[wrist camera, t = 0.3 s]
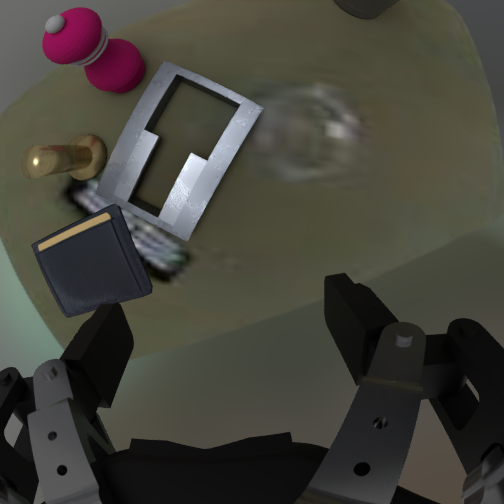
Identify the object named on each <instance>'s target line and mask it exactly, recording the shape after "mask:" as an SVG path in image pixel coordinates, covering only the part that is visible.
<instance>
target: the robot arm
mask: <svg viewBox="0 0 504 504" xmlns="http://www.w3.org/2000/svg"><path fill="white" fill-rule="evenodd" d="M334 1H335V2H336V3H337V4H338V5H339V6H340V7H341V8H342V9H344V10H345V11H346V12H348V13H350V14H351V15H354V16H356V17H359V18H364V19H372V18H375V17H377V16H378V15H380V14H381V13H382V12H384V11H385V10H387V9H388V8H389V7H391V6H392V5H394V4H395V3H396V2H398V1H399V0H334ZM324 302H325V303H324V304H325V305H324V314H325V320H326V324H327V327H328V329H329V331H330V333H331V335H332V337H333V339H334V341H335V343H336V345H337V347H338V349H339V351H340V353H341V355H342V357H343V359H344V361H345V363H346V365H347V367H348V369H349V371H350V373H351V375H352V377H353V380H354V382H355V384H356V386H358V385H359V388H358V390H357V393H356V395H355V397H354V400H353V402H352V404H351V406H350V408H349V411H348V413H347V415H346V417H345V419H344V421H343V423H342V425H341V427H340V430H339V431H338V433H337V435H336V437H335V439H334V441H333V443H332V445H331V447H330V449H328V448H325V447H322V446H318V445H314V444H308V443H298V442H292V438H291V433H290V432H286V433H280V434H274V435H266V436H259V437H250V438H246V439H243V440H239V441H236V442H232V443H229V444H225V445H222V446H218V447H214V448H210V449H201V448H196V447H191V446H187V445H182V444H178V443H174V442H170V441H164V440H163V441H162V440H145V439H131V443H130V448H129V449H126V450H122V451H118V452H117V451H116V450H115V448H114V446H113V444H112V442H111V440H110V438H109V436H108V433H107V431H106V429H105V427H104V425H103V423H102V421H101V418H100V416H99V414H98V413H97V412H96V411H97V408H98V407H103V408H111V405H112V402H113V399H114V397H115V394H116V391H117V388H118V386H119V383H120V380H121V378H122V375H123V373H124V370H125V368H126V365H127V363H128V360H129V358H130V355H131V353H132V350H133V347H134V339H133V335H132V332H131V330H130V327H129V325H128V322H127V320H126V317H125V314H124V312H123V309H122V307H121V305H120V304H119V303H105V304H101V305H100V306H99V307H98V308H97V310H96V311H95V313H94V314H93V315H92V317H91V318H89V319H88V320H87V321H86V322H84V323H83V325H82V326H81V327H80V329H79V330H78V333H76V335H75V336H74V339H72V341H71V342H70V344H69V345H68V347H67V348H66V350H65V351H64V353H63V354H62V356H61V357H60V359H52V360H48V361H46V362H44V363H42V364H41V365H40V366H39V367H38V368H37V369H36V371H35V372H34V375H33V377H27V378H22V376H21V375H20V373H19V372H18V370H17V369H16V368H14V367H9V368H6V369H4V370H2V371H1V372H0V504H33V503H34V499H35V494H36V491H37V487H38V483H39V482H40V485H41V489H42V492H43V495H44V499H45V501H44V502H43V503H41V504H440V503H437V502H435V501H432V500H430V499H427V498H425V497H423V496H420V495H418V494H415V493H413V492H411V491H409V490H407V489H405V488H403V487H400V486H398V485H397V484H398V482H399V479H400V476H401V473H402V470H403V467H404V464H405V461H406V458H407V454H408V451H409V448H410V444H411V441H412V437H413V433H414V429H415V425H416V421H417V417H418V412H419V407H420V402H421V400H422V399H429V401H430V403H431V405H432V406H433V408H434V410H435V412H436V414H437V415H438V417H439V419H440V421H441V423H442V425H443V427H444V429H445V431H446V432H447V434H448V436H449V438H450V440H451V442H452V444H453V446H454V448H455V450H456V452H457V454H458V457H459V459H460V461H461V463H462V465H463V467H464V469H465V471H466V474H467V477H466V478H465V481H464V483H463V488H462V492H463V493H462V496H461V499H462V501H463V503H464V504H504V348H503V347H502V346H501V345H500V344H499V343H498V342H497V341H496V340H495V339H494V338H493V337H492V336H491V335H490V333H489V332H488V331H486V329H485V328H484V327H482V325H481V324H479V323H478V322H476V321H474V320H471V319H466V318H460V319H456V320H454V321H452V322H451V323H450V324H449V327H448V330H447V333H446V334H437V335H436V334H435V335H425V333H424V331H423V330H422V329H421V328H420V327H418V326H417V325H415V324H411V323H408V322H399V321H398V320H397V318H396V317H395V316H394V315H393V314H392V313H391V312H390V311H389V309H388V308H387V307H386V306H385V305H384V303H382V301H381V300H380V299H379V298H378V297H377V296H376V295H375V293H374V292H373V291H372V290H371V289H370V288H368V287H366V286H364V285H362V284H360V283H357V284H354V283H353V281H352V280H351V279H350V278H349V277H348V276H347V274H346V273H341V274H335V275H329V276H326V277H325V281H324ZM467 379H469V381H470V382H471V383H472V385H473V386H474V388H475V389H476V390H477V392H478V394H479V402H478V400H477V399H476V397H475V395H474V394H473V392H472V391H471V390H470V388H469V387H468V385H467V384H466V381H467ZM12 413H14V415H15V416H16V417H17V418H18V420H19V421H20V422H21V423H22V424H23V426H22V429H21V431H20V433H19V436H18V438H17V440H16V443H15V445H14V448H13V447H12V446H11V445H10V444H9V443H8V442H7V441H6V439H5V436H4V429H5V427H6V425H7V423H8V420H9V419H10V417H11V414H12Z"/></svg>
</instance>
